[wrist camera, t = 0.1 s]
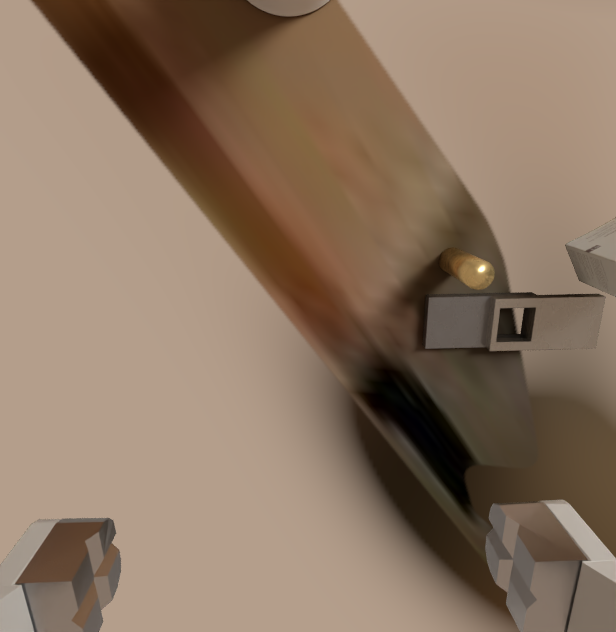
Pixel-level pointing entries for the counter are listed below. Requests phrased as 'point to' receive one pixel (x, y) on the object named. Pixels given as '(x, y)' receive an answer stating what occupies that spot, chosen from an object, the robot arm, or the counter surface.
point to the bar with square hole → (537, 326)
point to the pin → (467, 268)
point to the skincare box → (596, 257)
